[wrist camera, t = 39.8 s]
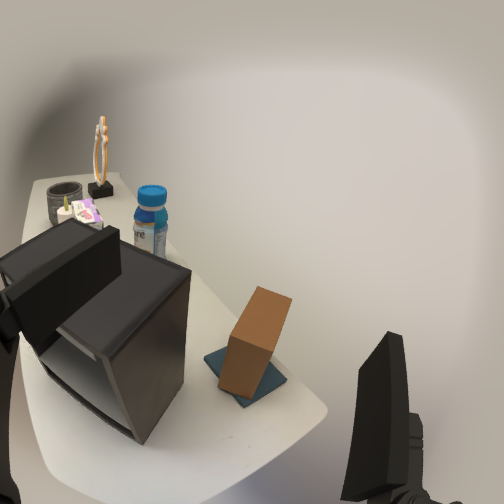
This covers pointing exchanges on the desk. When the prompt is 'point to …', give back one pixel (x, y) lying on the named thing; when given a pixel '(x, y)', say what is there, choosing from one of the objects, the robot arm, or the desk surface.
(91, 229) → the mini cabinet
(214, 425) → the desk surface
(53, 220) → the planter
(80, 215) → the candy box
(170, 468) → the desk surface
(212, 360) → the silicone mat
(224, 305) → the desk surface
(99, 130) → the lamp
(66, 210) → the candle
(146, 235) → the beverage bottle
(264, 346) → the brown packet
